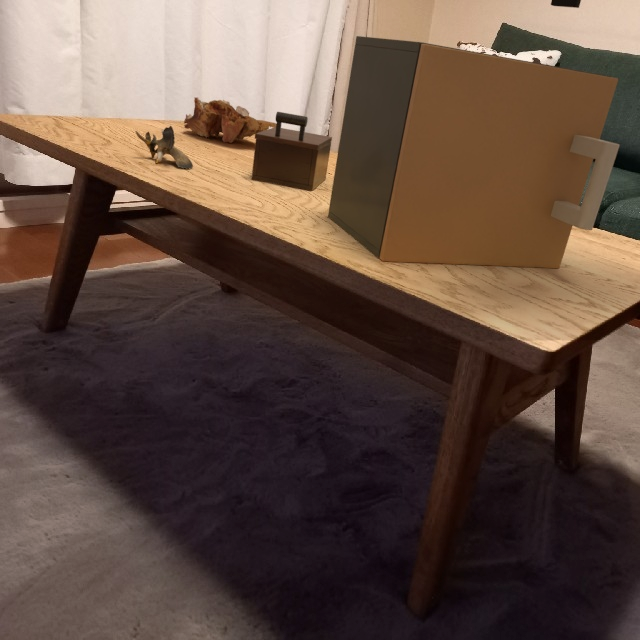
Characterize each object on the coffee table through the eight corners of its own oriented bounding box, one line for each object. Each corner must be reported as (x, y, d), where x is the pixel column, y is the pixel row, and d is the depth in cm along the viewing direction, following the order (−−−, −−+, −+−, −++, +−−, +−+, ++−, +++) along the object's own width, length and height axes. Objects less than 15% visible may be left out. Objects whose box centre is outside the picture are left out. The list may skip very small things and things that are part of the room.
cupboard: (553, 266, 85) (611, 76, 76) (377, 259, 76) (420, 42, 67) (480, 227, 101) (522, 65, 91) (327, 217, 91) (356, 35, 82)
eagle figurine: (127, 152, 107) (167, 153, 102) (140, 115, 108) (181, 114, 104) (156, 175, 113) (195, 176, 109) (169, 139, 115) (208, 139, 110)
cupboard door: (590, 285, 79) (658, 83, 70) (404, 279, 70) (454, 47, 61) (554, 265, 85) (612, 77, 76) (378, 258, 76) (420, 43, 67)
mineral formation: (283, 148, 137) (291, 104, 137) (218, 121, 126) (227, 73, 127) (227, 160, 154) (235, 121, 155) (167, 137, 144) (175, 95, 144)
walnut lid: (317, 150, 103) (321, 120, 102) (254, 138, 105) (257, 109, 103) (331, 141, 116) (335, 115, 114) (275, 131, 117) (278, 105, 115)
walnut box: (312, 191, 107) (318, 149, 104) (251, 179, 108) (255, 138, 105) (325, 179, 118) (331, 141, 116) (270, 168, 119) (274, 131, 117)
